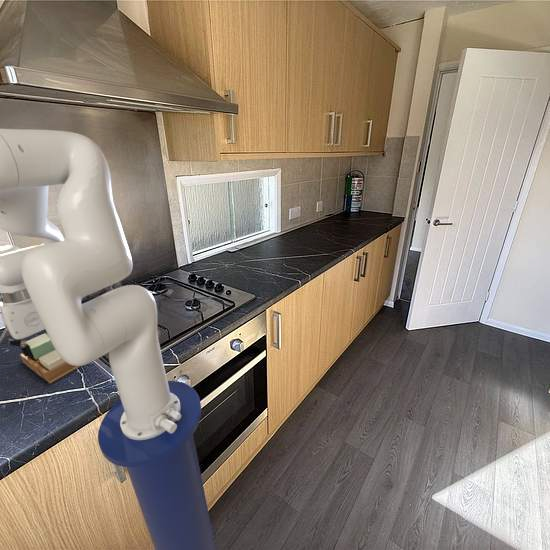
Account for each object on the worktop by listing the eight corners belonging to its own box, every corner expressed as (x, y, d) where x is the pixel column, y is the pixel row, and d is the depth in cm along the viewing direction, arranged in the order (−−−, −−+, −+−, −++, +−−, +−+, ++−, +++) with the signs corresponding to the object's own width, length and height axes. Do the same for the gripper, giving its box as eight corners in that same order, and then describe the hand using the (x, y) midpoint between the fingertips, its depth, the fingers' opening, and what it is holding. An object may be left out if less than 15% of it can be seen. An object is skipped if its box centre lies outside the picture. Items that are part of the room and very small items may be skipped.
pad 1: (58, 348, 84) (54, 338, 83) (36, 359, 80) (31, 348, 79) (49, 343, 87) (45, 332, 85) (27, 353, 83) (22, 342, 81)
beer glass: (126, 300, 117) (117, 265, 111) (129, 307, 112) (120, 271, 106) (107, 305, 114) (96, 270, 108) (109, 313, 108) (98, 276, 102)
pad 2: (74, 363, 81) (70, 352, 80) (52, 375, 77) (48, 364, 76) (64, 357, 84) (60, 346, 83) (43, 368, 80) (38, 358, 78)
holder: (83, 364, 82) (80, 355, 81) (50, 383, 76) (46, 374, 74) (55, 347, 90) (52, 338, 89) (23, 363, 83) (19, 354, 82)
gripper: (-19, 311, 68) (11, 373, 75) (62, 283, 81) (81, 338, 88) (-30, 304, 71) (0, 363, 78) (49, 278, 85) (68, 331, 92)
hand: (42, 349), depth 83 cm, fingers closed on pad 1, 5 cm apart
